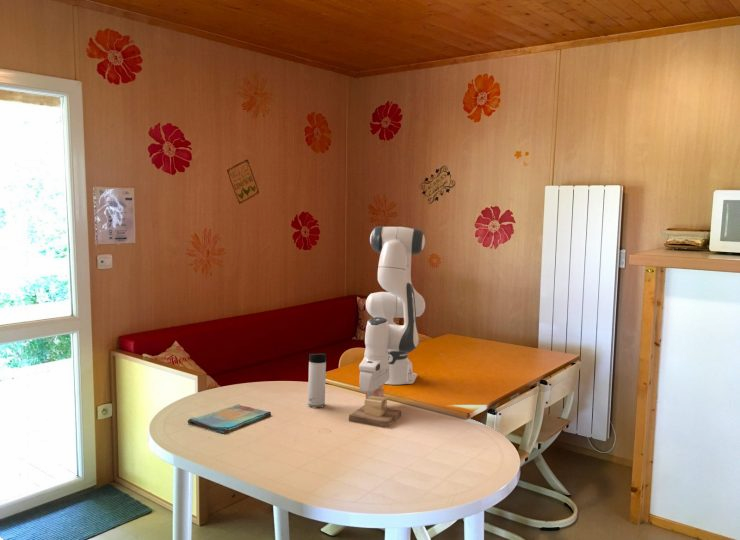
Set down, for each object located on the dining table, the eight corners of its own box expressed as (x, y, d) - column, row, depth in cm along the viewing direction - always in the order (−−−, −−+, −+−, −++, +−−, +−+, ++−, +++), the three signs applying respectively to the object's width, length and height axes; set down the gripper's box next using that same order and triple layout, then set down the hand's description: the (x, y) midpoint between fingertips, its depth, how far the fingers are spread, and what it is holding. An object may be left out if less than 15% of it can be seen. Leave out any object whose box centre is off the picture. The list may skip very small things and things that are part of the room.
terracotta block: (370, 399, 225) (371, 386, 224) (383, 401, 223) (383, 388, 222) (365, 403, 220) (365, 390, 220) (377, 405, 218) (378, 392, 218)
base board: (365, 410, 217) (365, 404, 217) (401, 416, 212) (401, 410, 212) (348, 421, 204) (349, 415, 204) (386, 427, 199) (386, 421, 199)
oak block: (370, 409, 212) (371, 395, 211) (386, 411, 210) (387, 397, 209) (364, 413, 206) (364, 399, 206) (380, 416, 204) (380, 402, 204)
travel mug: (309, 408, 216) (310, 354, 215) (306, 403, 223) (307, 350, 221) (326, 407, 218) (327, 354, 217) (322, 402, 224) (324, 350, 223)
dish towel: (185, 425, 196) (185, 418, 196) (235, 408, 216) (236, 401, 216) (223, 436, 187) (224, 428, 187) (272, 417, 207) (272, 410, 207)
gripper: (379, 355, 231) (377, 389, 232) (356, 366, 212) (355, 404, 213) (394, 357, 228) (392, 392, 230) (373, 368, 210) (371, 407, 211)
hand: (374, 398), depth 221 cm, fingers closed on terracotta block, 5 cm apart
